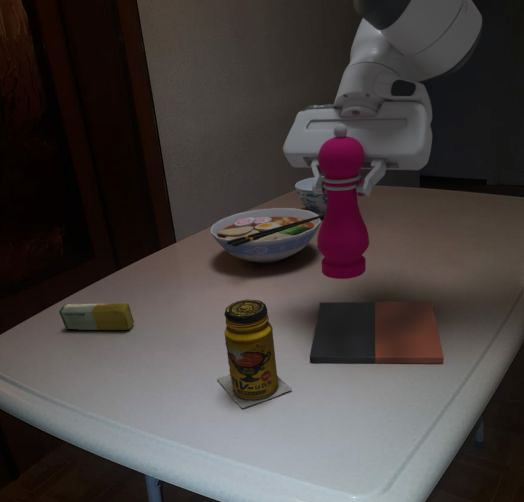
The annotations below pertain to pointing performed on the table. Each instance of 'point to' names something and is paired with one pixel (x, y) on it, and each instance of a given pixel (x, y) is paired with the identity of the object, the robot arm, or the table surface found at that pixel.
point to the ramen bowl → (266, 233)
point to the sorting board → (376, 333)
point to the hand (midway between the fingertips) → (340, 193)
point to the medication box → (97, 316)
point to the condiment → (250, 354)
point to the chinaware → (311, 196)
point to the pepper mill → (342, 208)
